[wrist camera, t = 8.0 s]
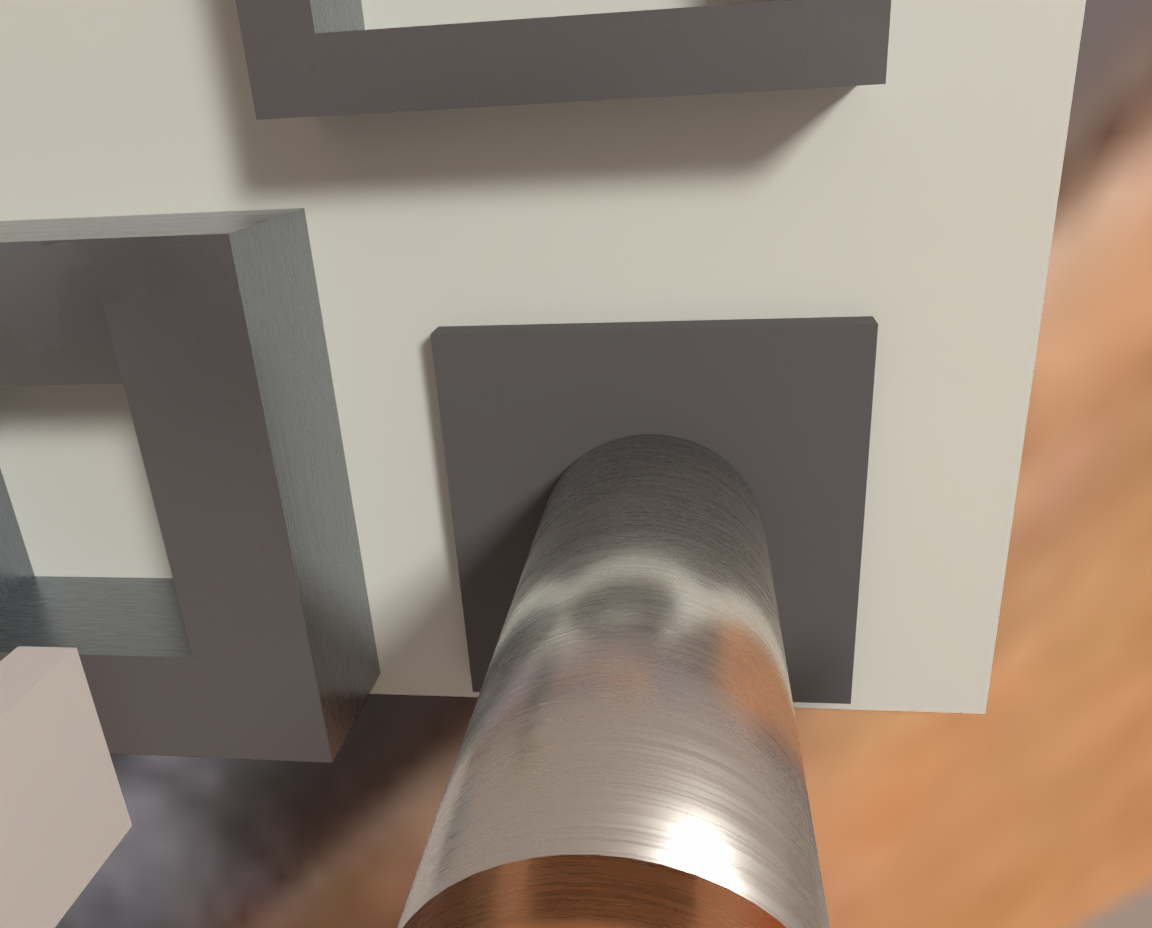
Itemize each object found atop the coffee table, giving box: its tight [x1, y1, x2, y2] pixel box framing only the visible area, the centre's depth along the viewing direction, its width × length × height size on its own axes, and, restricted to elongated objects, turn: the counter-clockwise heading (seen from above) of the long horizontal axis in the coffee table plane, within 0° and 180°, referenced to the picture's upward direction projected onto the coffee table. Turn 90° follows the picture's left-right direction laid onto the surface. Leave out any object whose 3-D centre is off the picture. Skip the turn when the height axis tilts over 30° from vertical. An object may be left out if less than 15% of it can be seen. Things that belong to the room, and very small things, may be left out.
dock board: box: [0, 0, 1086, 714], centre depth 15 cm, size 24×22×1 cm
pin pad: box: [430, 316, 878, 704], centre depth 16 cm, size 7×7×1 cm
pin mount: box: [0, 208, 380, 763], centre depth 16 cm, size 9×9×3 cm
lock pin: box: [397, 434, 830, 928], centre depth 11 cm, size 4×4×11 cm
